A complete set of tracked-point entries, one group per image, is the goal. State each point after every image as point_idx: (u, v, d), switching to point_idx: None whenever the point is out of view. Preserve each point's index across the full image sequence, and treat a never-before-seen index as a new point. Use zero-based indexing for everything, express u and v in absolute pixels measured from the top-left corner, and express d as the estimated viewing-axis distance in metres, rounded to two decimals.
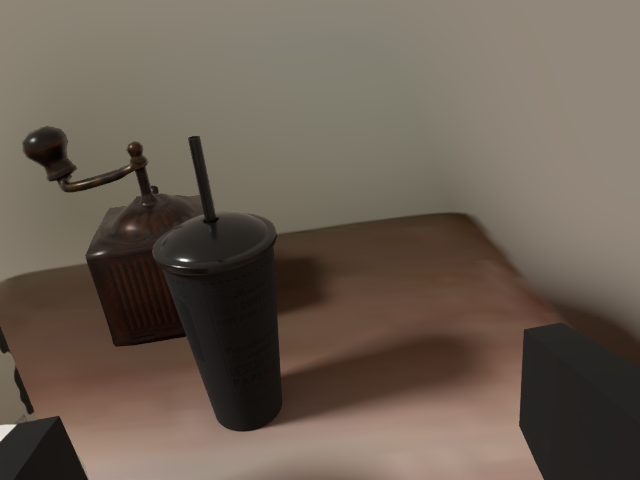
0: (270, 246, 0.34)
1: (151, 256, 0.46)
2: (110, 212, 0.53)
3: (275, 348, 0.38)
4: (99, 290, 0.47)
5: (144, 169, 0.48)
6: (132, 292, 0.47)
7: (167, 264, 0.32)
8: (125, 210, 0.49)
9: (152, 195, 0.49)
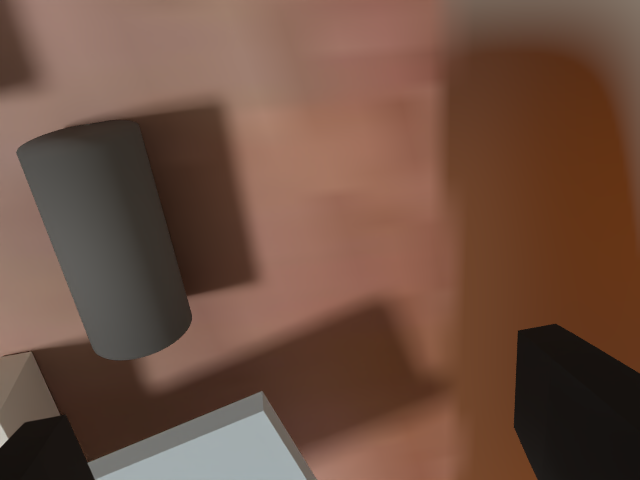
0: None
1: None
2: None
3: None
4: None
5: None
6: None
7: None
8: None
9: None
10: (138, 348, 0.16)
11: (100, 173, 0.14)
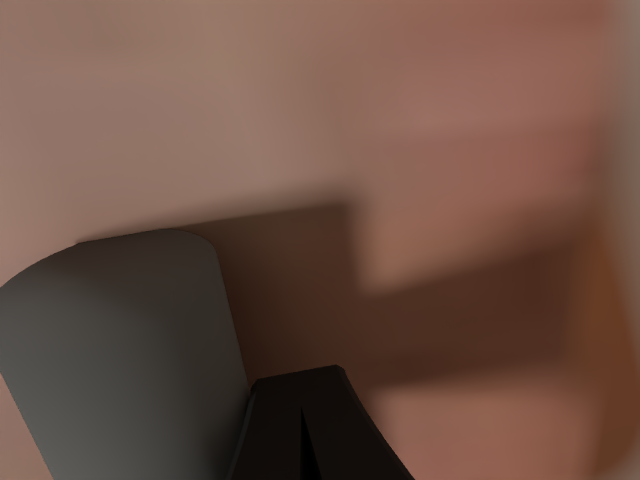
0: None
1: None
2: None
3: None
4: None
5: None
6: None
7: None
8: None
9: None
10: None
11: None
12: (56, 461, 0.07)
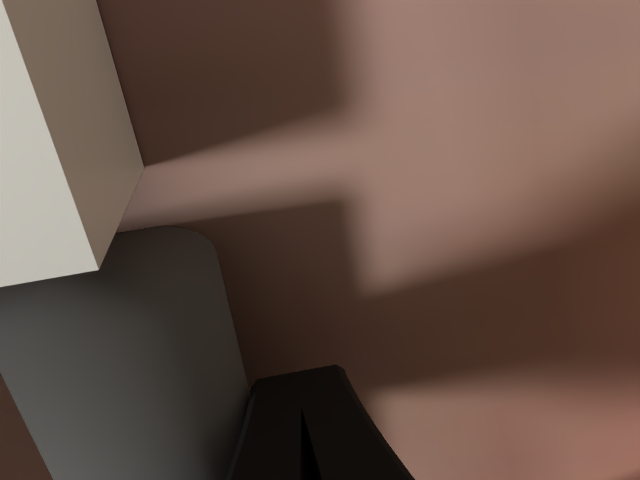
0: None
1: None
2: None
3: None
4: None
5: None
6: None
7: None
8: None
9: None
10: None
11: None
12: (204, 424, 0.07)
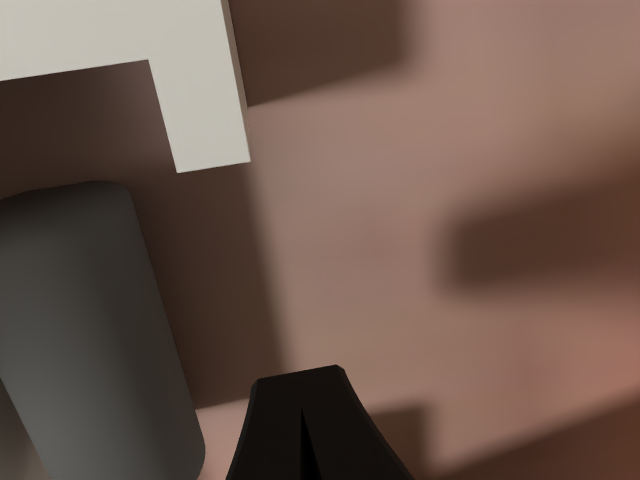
0: None
1: None
2: None
3: None
4: None
5: None
6: None
7: None
8: None
9: None
10: None
11: (128, 247, 0.09)
12: None
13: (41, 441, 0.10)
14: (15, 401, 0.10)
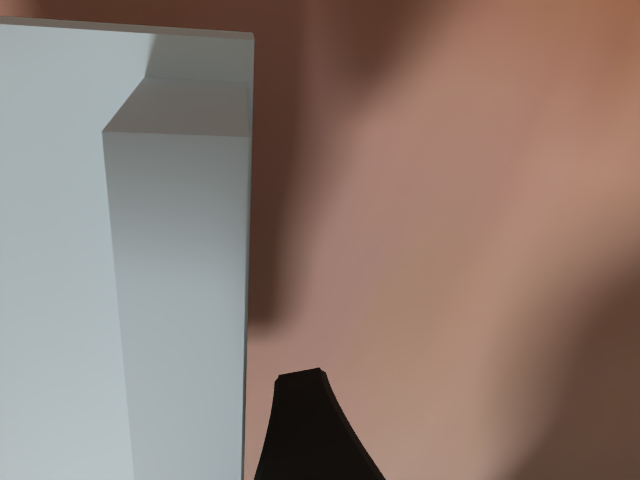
0: None
1: None
2: None
3: None
4: None
5: None
6: None
7: None
8: None
9: None
10: None
11: None
12: None
13: None
14: None
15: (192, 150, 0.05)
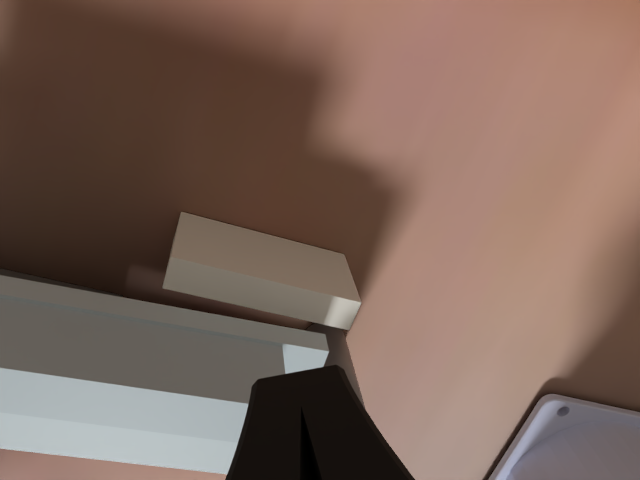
0: None
1: None
2: None
3: None
4: None
5: None
6: None
7: None
8: None
9: None
10: None
11: None
12: None
13: None
14: None
15: None
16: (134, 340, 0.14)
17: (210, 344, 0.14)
